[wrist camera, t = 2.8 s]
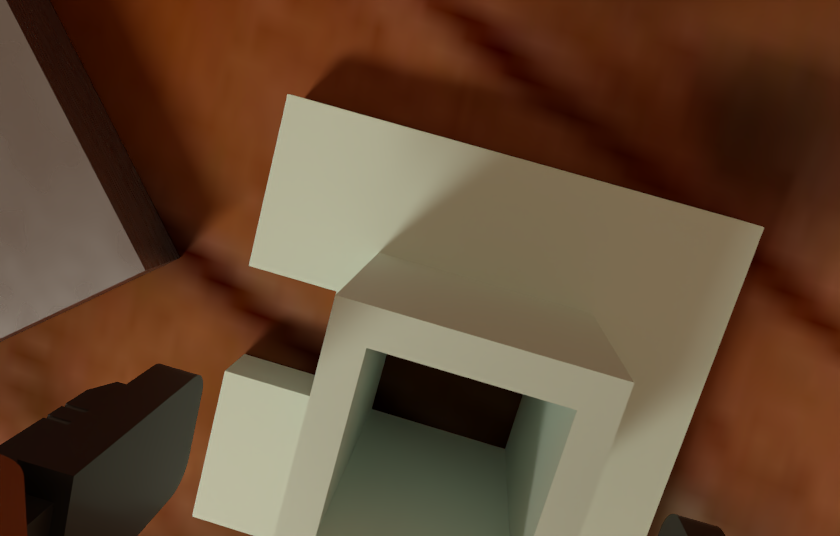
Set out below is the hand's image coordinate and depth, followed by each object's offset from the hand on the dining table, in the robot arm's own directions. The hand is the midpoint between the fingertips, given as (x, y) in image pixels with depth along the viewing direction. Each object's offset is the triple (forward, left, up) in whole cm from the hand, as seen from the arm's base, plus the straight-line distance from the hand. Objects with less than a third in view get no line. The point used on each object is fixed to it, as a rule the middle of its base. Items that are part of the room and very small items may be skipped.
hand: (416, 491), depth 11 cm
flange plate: (-1, 0, -8) cm, 8 cm away
